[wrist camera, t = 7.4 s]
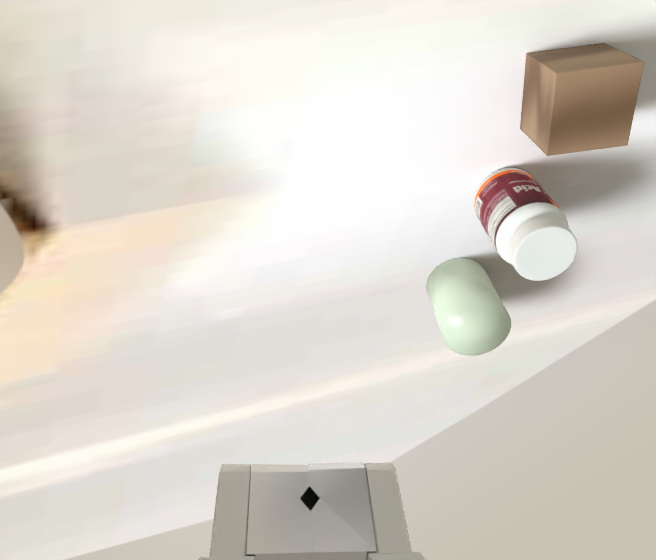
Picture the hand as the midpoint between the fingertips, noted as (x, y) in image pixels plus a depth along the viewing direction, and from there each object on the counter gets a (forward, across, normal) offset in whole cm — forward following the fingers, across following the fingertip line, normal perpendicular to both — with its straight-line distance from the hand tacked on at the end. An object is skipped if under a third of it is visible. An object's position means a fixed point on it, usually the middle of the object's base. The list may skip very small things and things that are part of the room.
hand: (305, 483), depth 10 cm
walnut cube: (+31, -18, +1) cm, 36 cm away
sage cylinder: (+31, -14, +17) cm, 38 cm away
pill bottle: (+31, -16, +9) cm, 36 cm away
